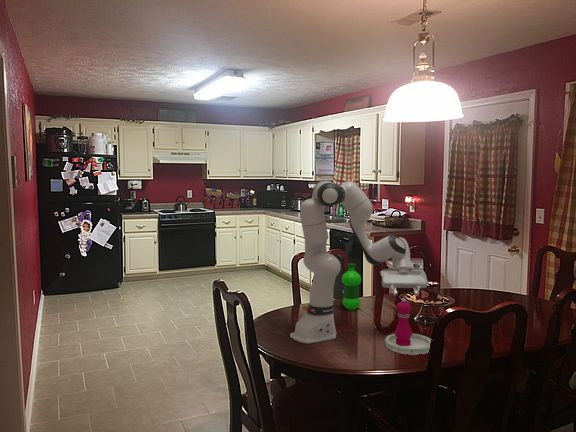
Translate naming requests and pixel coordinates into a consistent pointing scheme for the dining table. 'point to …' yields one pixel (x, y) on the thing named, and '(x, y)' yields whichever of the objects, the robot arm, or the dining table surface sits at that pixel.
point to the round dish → (416, 347)
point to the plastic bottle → (351, 288)
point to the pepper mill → (403, 324)
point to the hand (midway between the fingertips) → (406, 295)
